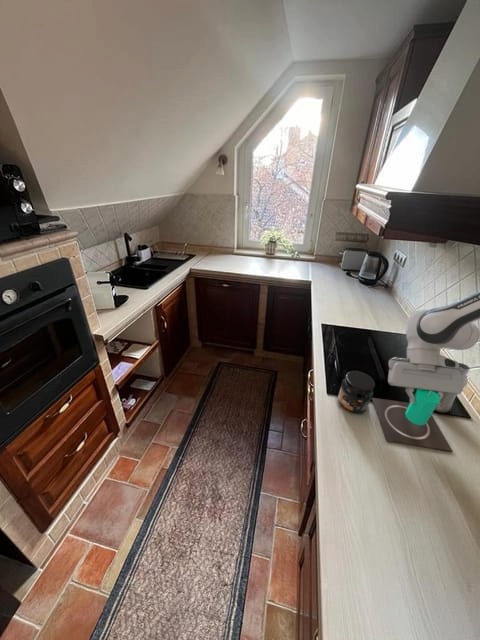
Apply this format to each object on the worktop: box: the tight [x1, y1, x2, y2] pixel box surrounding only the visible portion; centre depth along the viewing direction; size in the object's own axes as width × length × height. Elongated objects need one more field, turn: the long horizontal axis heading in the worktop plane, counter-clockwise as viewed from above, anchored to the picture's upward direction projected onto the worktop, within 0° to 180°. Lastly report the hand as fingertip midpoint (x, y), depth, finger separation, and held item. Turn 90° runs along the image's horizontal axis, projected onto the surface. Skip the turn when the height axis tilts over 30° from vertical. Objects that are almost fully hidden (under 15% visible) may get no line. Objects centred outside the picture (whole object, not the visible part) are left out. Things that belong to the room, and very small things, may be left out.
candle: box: [405, 389, 441, 425], centre depth 79 cm, size 6×6×12 cm
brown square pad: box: [371, 397, 453, 453], centre depth 87 cm, size 19×18×1 cm
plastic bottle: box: [434, 362, 471, 414], centre depth 88 cm, size 6×7×20 cm
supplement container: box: [337, 370, 376, 415], centre depth 91 cm, size 10×10×12 cm
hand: (424, 405), depth 78 cm, fingers closed on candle, 5 cm apart
